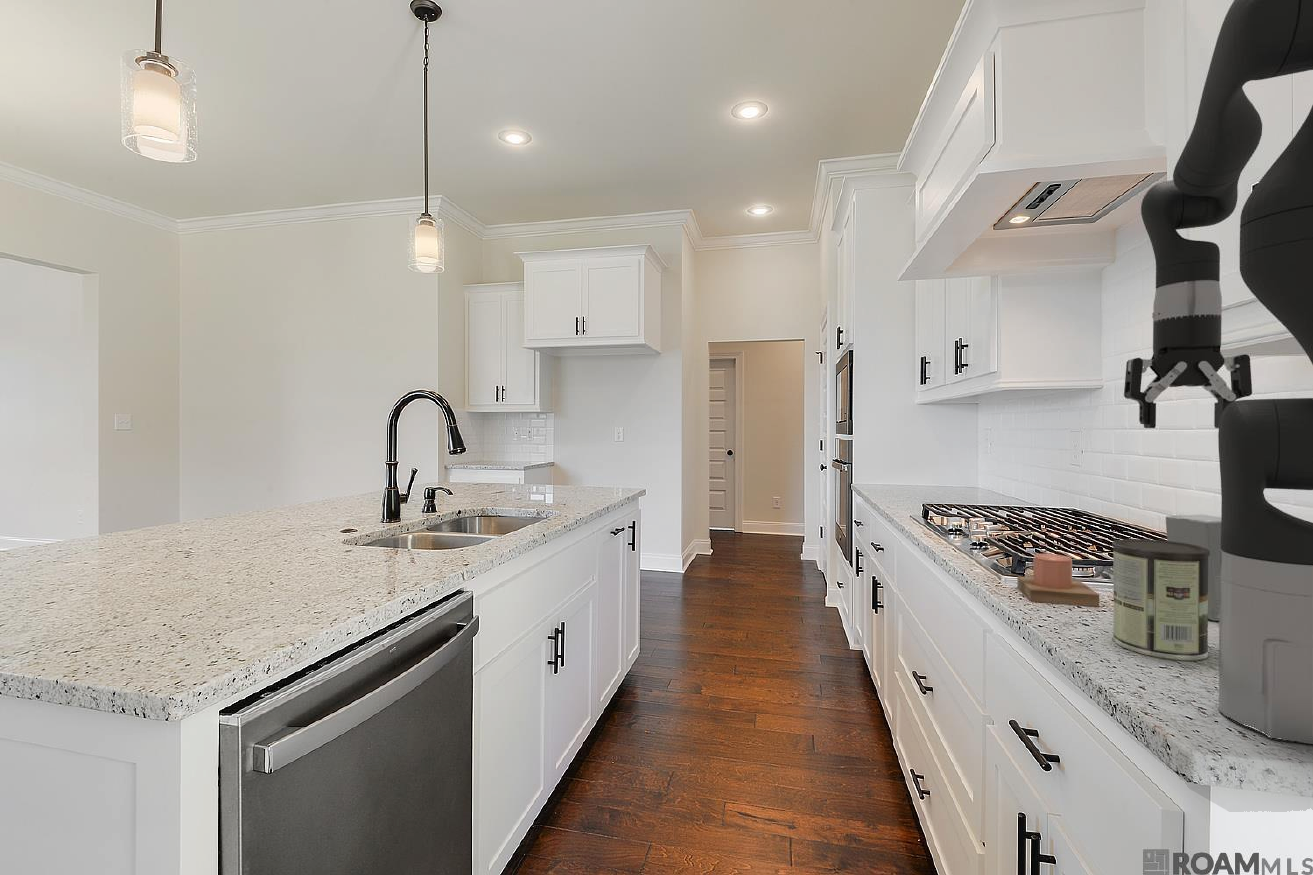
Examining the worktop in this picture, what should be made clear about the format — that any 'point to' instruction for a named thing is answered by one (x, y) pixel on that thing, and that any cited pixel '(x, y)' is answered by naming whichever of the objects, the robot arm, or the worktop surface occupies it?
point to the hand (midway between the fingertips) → (1185, 428)
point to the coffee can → (1161, 598)
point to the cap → (1052, 571)
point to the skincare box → (1204, 535)
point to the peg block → (1058, 593)
